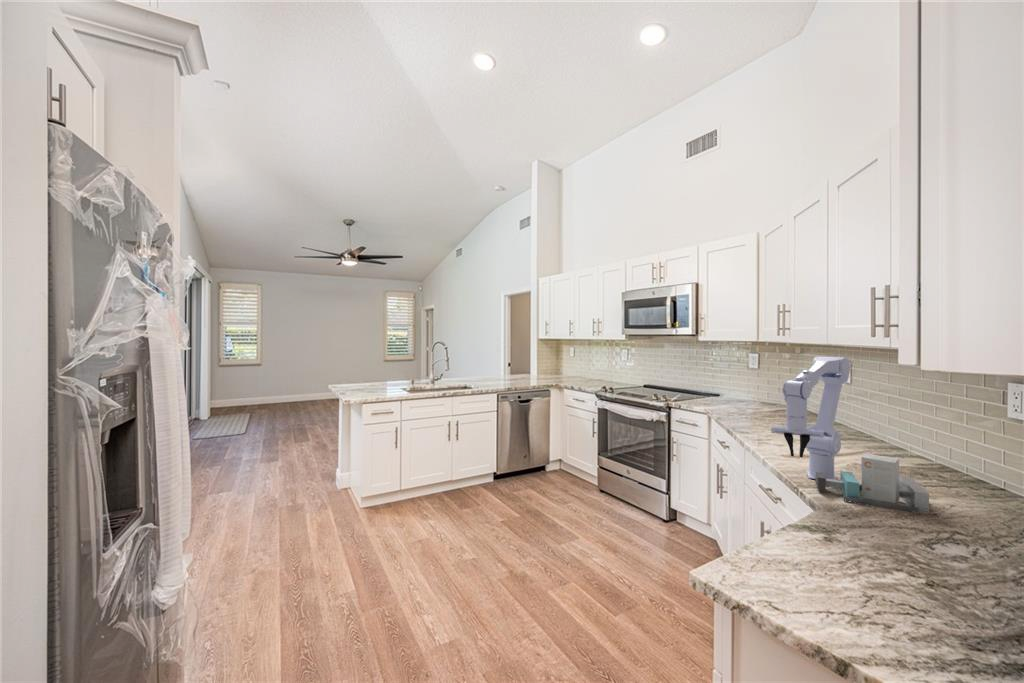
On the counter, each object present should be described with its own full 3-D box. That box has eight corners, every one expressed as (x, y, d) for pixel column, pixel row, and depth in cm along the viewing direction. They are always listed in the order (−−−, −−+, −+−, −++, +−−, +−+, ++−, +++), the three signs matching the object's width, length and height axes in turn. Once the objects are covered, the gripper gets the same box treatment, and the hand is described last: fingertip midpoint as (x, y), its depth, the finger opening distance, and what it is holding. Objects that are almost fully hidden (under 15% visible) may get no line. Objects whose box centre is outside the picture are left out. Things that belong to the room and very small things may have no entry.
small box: (899, 500, 126) (899, 458, 126) (896, 506, 122) (896, 462, 122) (865, 492, 132) (865, 452, 132) (861, 497, 128) (861, 456, 128)
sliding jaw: (814, 483, 140) (814, 467, 140) (852, 489, 135) (852, 472, 135) (819, 494, 131) (819, 477, 131) (859, 500, 125) (859, 483, 125)
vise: (835, 485, 139) (835, 468, 139) (911, 496, 129) (911, 477, 129) (844, 501, 126) (844, 481, 126) (929, 514, 116) (929, 493, 116)
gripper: (771, 416, 138) (771, 456, 138) (825, 420, 131) (825, 462, 131) (770, 412, 144) (770, 450, 144) (822, 416, 137) (822, 456, 137)
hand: (796, 456), depth 138 cm, fingers closed
